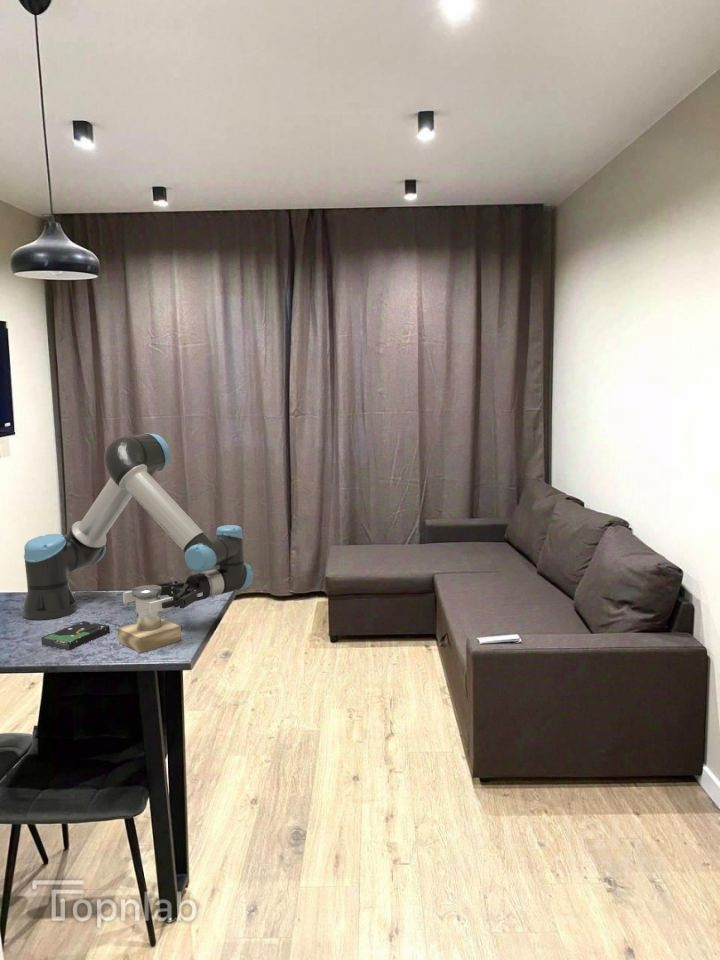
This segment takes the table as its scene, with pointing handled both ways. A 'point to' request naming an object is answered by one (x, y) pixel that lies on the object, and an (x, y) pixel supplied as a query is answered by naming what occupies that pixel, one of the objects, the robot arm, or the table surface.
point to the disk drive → (75, 635)
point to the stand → (149, 636)
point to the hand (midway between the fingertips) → (136, 603)
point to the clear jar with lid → (147, 607)
